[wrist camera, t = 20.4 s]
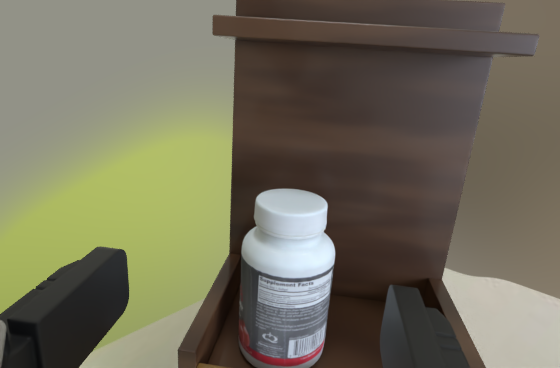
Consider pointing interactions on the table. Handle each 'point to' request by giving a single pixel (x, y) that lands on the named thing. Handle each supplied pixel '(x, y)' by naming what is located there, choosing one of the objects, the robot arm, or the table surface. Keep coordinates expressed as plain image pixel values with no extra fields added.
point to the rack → (355, 152)
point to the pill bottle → (285, 280)
